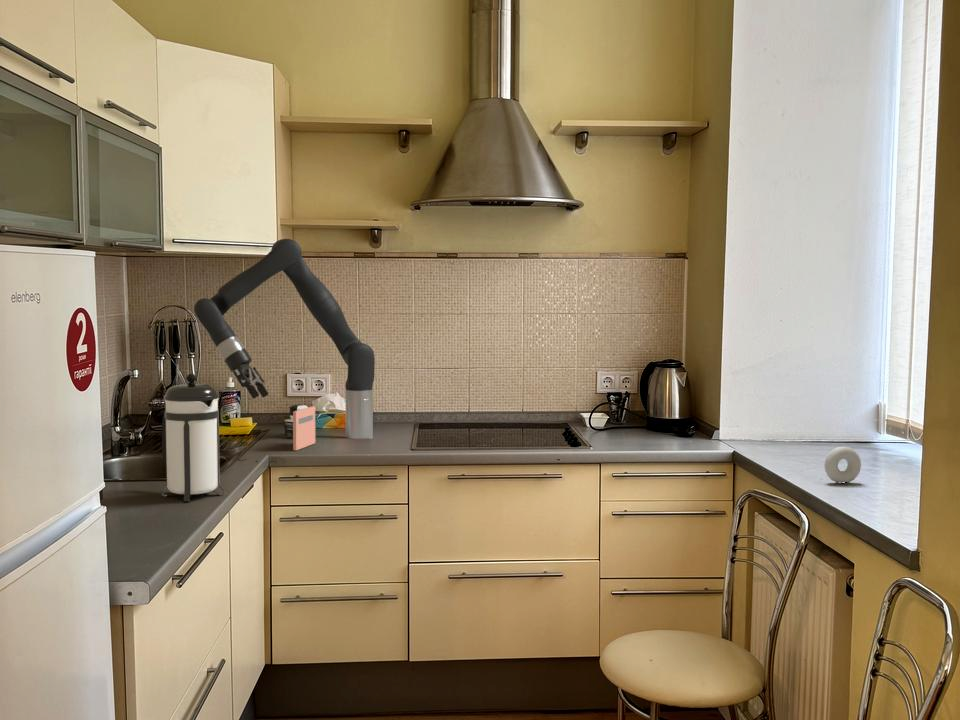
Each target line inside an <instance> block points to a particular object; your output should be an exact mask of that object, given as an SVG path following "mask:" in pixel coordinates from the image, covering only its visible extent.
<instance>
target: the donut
mask: <svg viewBox="0 0 960 720" xmlns="http://www.w3.org/2000/svg"><path fill="white" fill-rule="evenodd" d="M841 460H845V461H846V462H847V467H846V468H845V469H844V470H840V469H839V463H840V462H841ZM861 467H862V460H861V458H860V456H859V454H858V453H857V452H856V450H855V449H852V448H851V447H849V446H839V447H835V448H833V449H832V450H831V451H830V452H829V453H828V454H827V456H826V458H825V460H824V470H825V473H826V475H827V477H828V478H829V479H830V480H831V481H833V482H834V481H835V483H836V482H849V483H850V482H852V481H854V480H855V479H856V478H857V477H858V476H859V474H860V472H861Z"/></svg>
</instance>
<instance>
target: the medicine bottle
mask: <svg viewBox="0 0 960 720" xmlns="http://www.w3.org/2000/svg"><path fill="white" fill-rule="evenodd" d="M308 407H309V406H307V405H305V404H294V405H291V406H290V407H289V417H290V418H287V419H285V420H284V425H283V426H284V438H285V439H292V440H293V412H294V411H298V410H301V409H305V408H308Z"/></svg>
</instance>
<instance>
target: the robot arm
mask: <svg viewBox="0 0 960 720" xmlns="http://www.w3.org/2000/svg"><path fill="white" fill-rule="evenodd" d="M302 254H303V253H302V247H301V246H300V244H299V243H298V242H297V241H295V240H294V239H291V238H281V239H279V240H276V241H275V242H274V243H273V244H272V247H271V249H270V251H269V252H268V253H267V254H266V255H265V256H264V257H262V258H261V259H260V260H259V261H257V262H256V263H254V264H253V265H252V266H250V267H249V268H246V269H245V270H243V271H242V272H240V273H238V274H237V275H235V276H234V277H232V278H231V279H229V280H228V281H227V282H225V283H224V284H223V285H222V286H220V287H219V288H218V290H217V293H215V294H214V295H213V296H212V297H211V298H207V297H203V298H199V299H198V300H197V301H196V302H195V303H194V306H193V307H194V308H193V309H194V310H193V311H194V314H195V316H196V317H197V319H198V321H199V322H200V324H201V325H202V326H203V328H204V329H205V330H206V331H207V333H208V334H209V338H211V340H212V342H213V344H214V346H215V347H216V348H217V351H218V352H219V355H220V356H221V357H222V359H223V361H224V363H225V364H226V366H227V368H228V369H229V371H230V372H232V373H233V374H234V376H235V377H236V381H238V383H239V385H240V386H241V388H244V389H245V390H247V392H248V393H249V395H250V396H251V397H252V399H256V398H258V397H259V396H261V398H265V397H267V396H269V391H268V390H267V388H266V387H265V385H264V384H265V380H264V379H263V377H262V376H261V374H260V373H259V371H258V370H257V368H256V367H254V366H253V367H251V366H250V363H252V361H253V359H252V357H251V355H250V354H249V352H248V351H247V349H246V348H245V346H244V345H243V343H242V341H241V340H240V339H239V338H238V336H237V335H236V334H235V331H234V330H233V329H232V327H231V325H230V324H228V322H227V321H226V319H225V318H224V316H225V315H226V313H227V312H228V311H229V310H230V309H231V308H232V307H233V306H234V305H237V304H238V303H239V302H240V301H242V299H244V298H246V297H247V296H248V295H250V294H251V293H252V292H253V291H255V290H256V289H257V288H259V287H260V286H261V285H262V284H263V283H265V282H266V281H267V280H270V278H272V277H273V276H275V275H276V274H279V273H280V272H283V273H284V274H285V275H286V277H287V278H288V279H289V280H290V282H291V283H292V284H293V286H294V287H295V290H296V291H297V293H298V295H299V297H300V298H301V300H302V301H303V303H304V304H305V306H306V308H307V309H308V311H309V313H311V315H312V316H313V318H314V319H315V320H316V322H317V323H318V324H319V325H320V327H321V328H322V329H323V330H324V332H325V333H326V335H328V336H329V338H330V339H331V341H332V342H333V343H334V345H335V346H336V348H337V350H338V352H339V354H340V356H341V358H342V359H343V361H344V363H345V365H347V378H346V381H345V390H344V391H345V393H344V394H345V395H344V396H345V438H347V439H352V440H353V439H354V440H360V439H371V440H372V439H373V438H374V433H373V432H374V431H373V430H374V428H373V427H374V426H373V424H374V423H373V420H374V419H373V418H374V417H373V412H374V411H373V410H374V409H373V408H374V406H373V405H374V404H373V400H374V398H373V397H374V396H373V392H374V391H373V390H374V388H373V387H374V386H373V385H374V383H375V382H374V381H375V366H376V365H375V361H376V360H375V352H374V350H373V348H372V347H371V346H370V345H369V344H367V343H364V342H362V341H361V340H360V339H359V338H358V337H357V336H356V334H355V333H354V332H353V330H352V328H351V327H350V325H348V322H347V319H346V317H345V315H344V312H343V310H342V307H341V306H340V304H339V303H338V300H336V298H335V297H334V296H333V294H332V293H331V291H330V290H329V289H328V288H327V287H326V286H325V284H324V283H323V282H322V281H321V280H320V279H319V278H318V277H317V275H315V274H314V272H312V270H311V269H310V268H309V266H308V265H307V263H306V262H305V260H304V258H303V256H302Z"/></svg>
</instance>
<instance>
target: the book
mask: <svg viewBox="0 0 960 720" xmlns="http://www.w3.org/2000/svg"><path fill="white" fill-rule="evenodd" d="M307 407H308V408H305V409H301V410H298V411H294V412H293V439H292V444H293V445H292V446H293V447H292V449H293V451H298V450H301V449H304V448H306V447H309V446H311V445H314V444H316V406H315V405H314V406H307Z"/></svg>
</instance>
